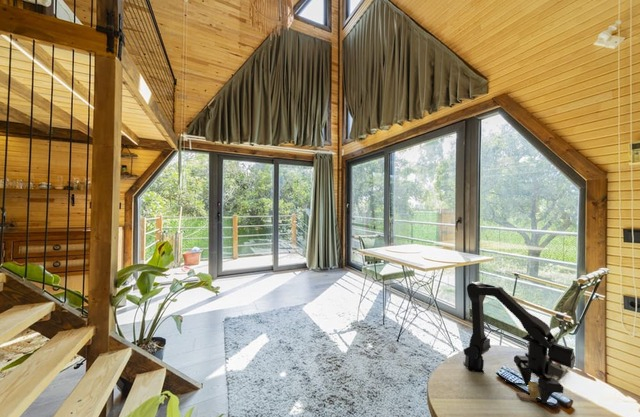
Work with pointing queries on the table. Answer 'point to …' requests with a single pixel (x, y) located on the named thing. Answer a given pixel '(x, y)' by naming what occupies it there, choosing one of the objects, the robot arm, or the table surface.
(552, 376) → the packaged product
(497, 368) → the table surface
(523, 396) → the stub
